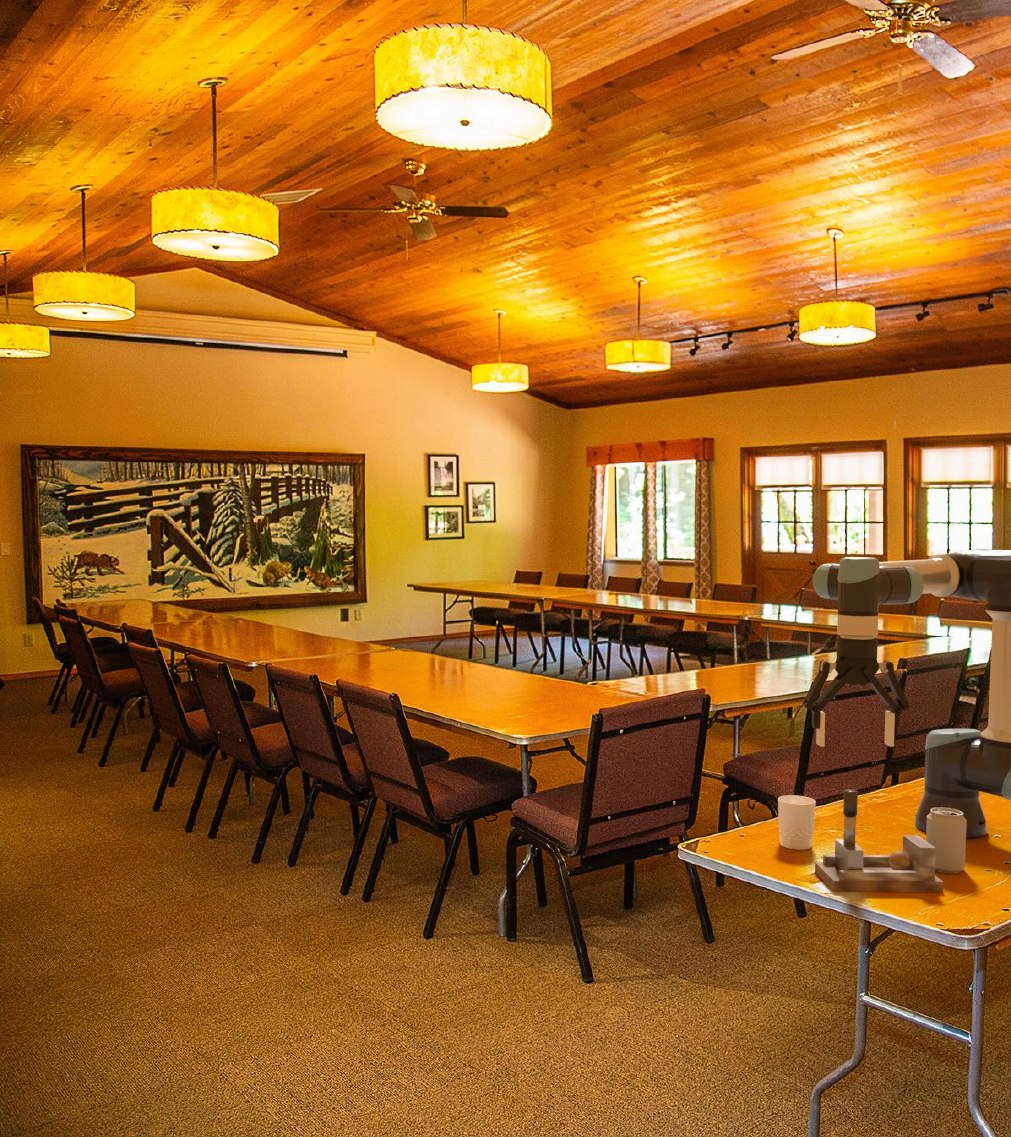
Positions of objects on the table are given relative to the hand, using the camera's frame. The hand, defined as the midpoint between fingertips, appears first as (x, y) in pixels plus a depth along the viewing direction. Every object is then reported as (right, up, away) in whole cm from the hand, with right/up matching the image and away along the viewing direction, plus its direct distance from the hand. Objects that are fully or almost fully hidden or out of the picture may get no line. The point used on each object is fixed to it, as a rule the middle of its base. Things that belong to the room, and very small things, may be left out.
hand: (854, 745), depth 202 cm
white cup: (-5, -26, +23) cm, 35 cm away
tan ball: (+9, -25, 0) cm, 26 cm away
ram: (-1, -24, 0) cm, 24 cm away
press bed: (+5, -27, 0) cm, 27 cm away
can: (+21, -27, +9) cm, 35 cm away
